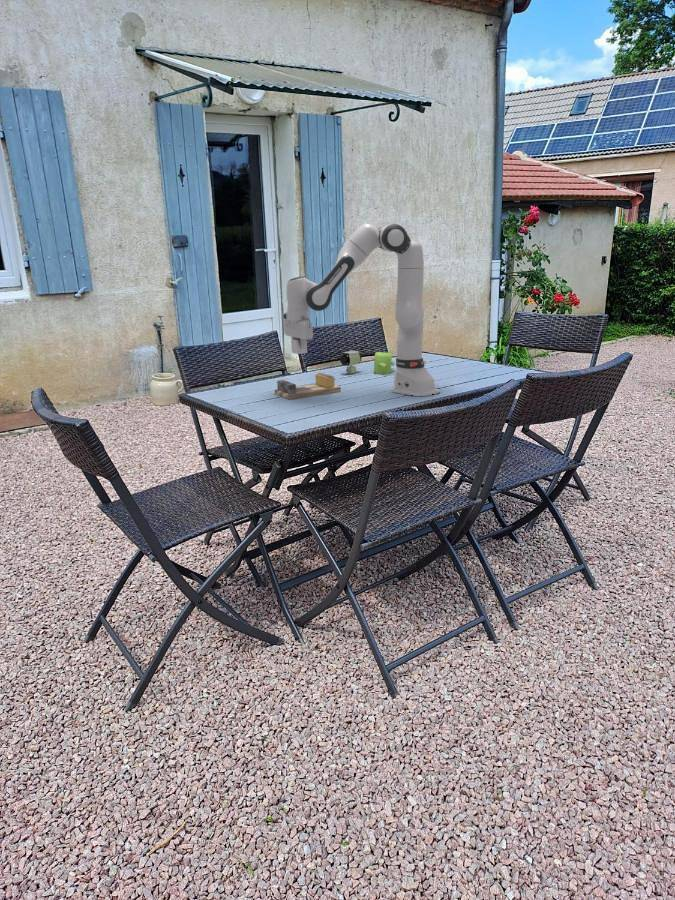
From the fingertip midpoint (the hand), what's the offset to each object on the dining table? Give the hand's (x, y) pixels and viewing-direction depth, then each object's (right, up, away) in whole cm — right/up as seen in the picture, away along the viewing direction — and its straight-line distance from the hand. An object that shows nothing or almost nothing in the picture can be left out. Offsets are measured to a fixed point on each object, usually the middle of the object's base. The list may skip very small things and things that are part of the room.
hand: (299, 348), depth 291 cm
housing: (0, -2, +1) cm, 2 cm away
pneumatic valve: (+24, -6, +49) cm, 55 cm away
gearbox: (+41, -5, +50) cm, 64 cm away
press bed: (+3, -19, +8) cm, 21 cm away
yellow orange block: (+11, -15, +12) cm, 22 cm away
